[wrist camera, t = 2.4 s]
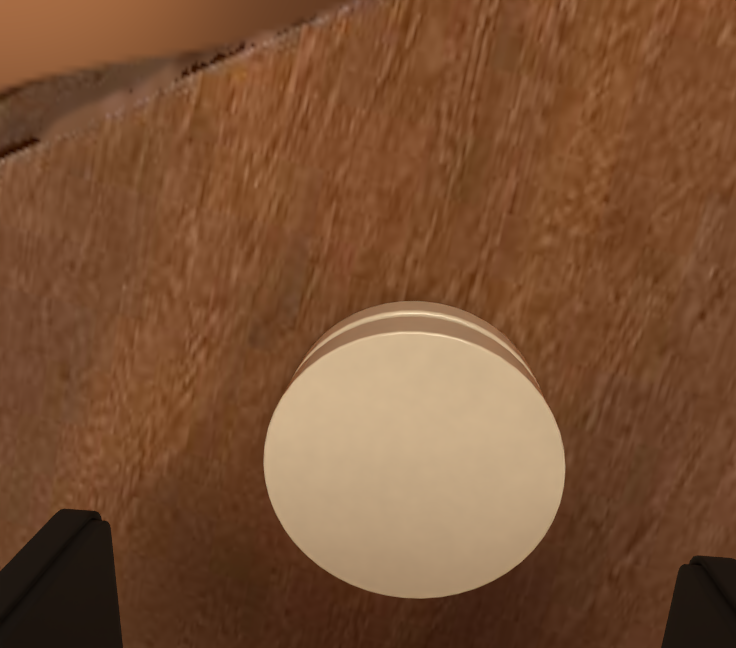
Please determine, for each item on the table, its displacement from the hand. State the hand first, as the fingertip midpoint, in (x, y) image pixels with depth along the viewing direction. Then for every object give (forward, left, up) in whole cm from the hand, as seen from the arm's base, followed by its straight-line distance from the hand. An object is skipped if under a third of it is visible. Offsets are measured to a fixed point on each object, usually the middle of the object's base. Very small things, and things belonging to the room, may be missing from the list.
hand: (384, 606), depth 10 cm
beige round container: (0, 0, -7) cm, 7 cm away
